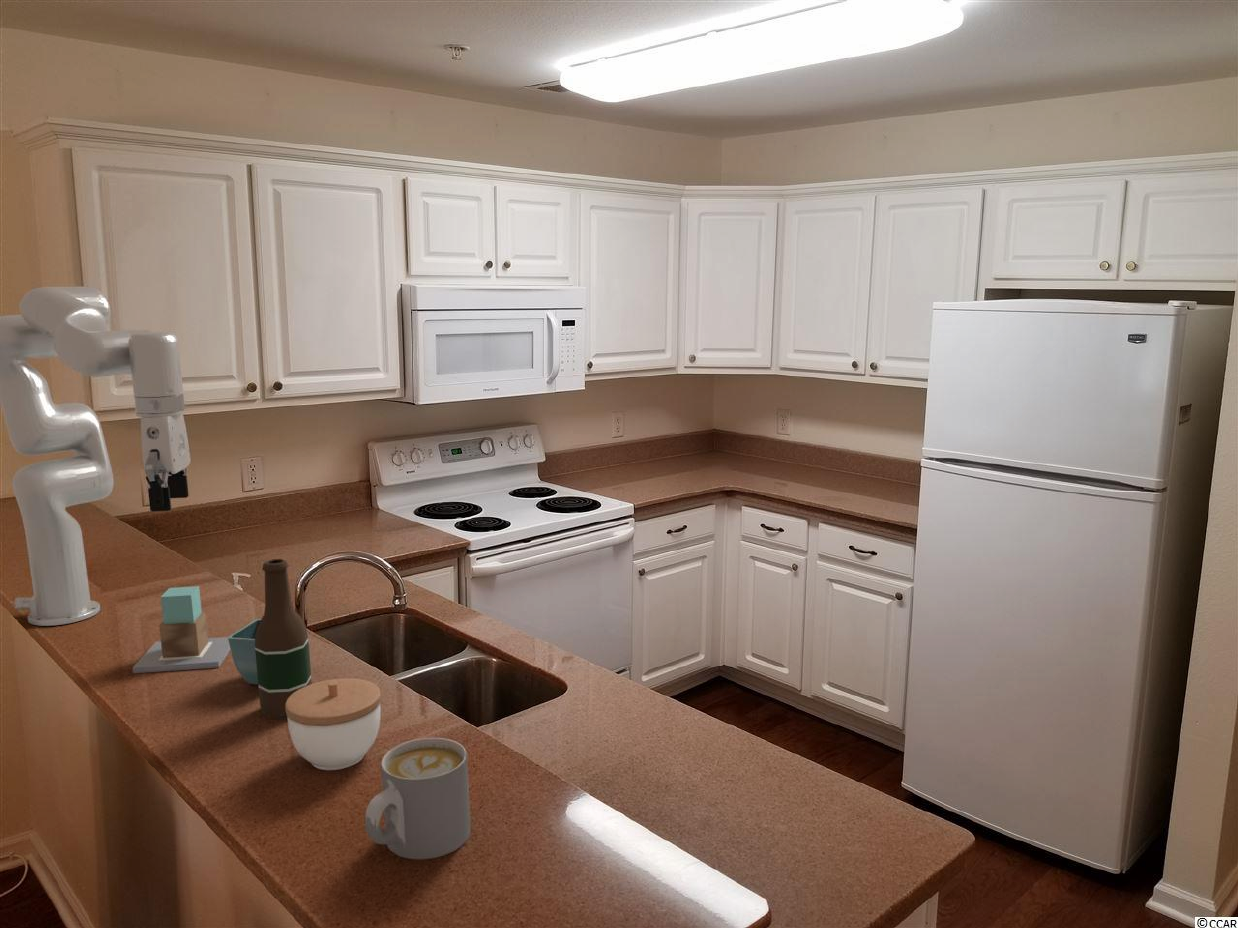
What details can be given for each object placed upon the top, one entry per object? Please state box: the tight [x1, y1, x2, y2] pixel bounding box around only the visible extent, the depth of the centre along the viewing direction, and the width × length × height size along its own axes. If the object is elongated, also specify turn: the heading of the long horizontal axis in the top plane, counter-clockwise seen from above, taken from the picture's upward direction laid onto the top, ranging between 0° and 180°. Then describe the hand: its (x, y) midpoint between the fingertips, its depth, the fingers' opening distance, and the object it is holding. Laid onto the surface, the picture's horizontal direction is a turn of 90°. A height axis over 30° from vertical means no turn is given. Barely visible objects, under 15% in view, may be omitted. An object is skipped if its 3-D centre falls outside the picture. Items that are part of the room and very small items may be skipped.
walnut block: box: [158, 611, 209, 658], centre depth 165 cm, size 6×6×6 cm
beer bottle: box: [255, 558, 313, 720], centre depth 143 cm, size 8×8×24 cm
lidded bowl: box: [285, 677, 382, 771], centre depth 129 cm, size 13×13×11 cm
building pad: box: [132, 636, 231, 674], centre depth 166 cm, size 14×12×1 cm
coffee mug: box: [364, 737, 472, 860], centre depth 109 cm, size 13×10×10 cm
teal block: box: [160, 585, 203, 624], centre depth 164 cm, size 5×5×5 cm
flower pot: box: [227, 618, 262, 685], centre depth 155 cm, size 9×9×9 cm
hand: (170, 503), depth 161 cm, fingers open, 9 cm apart
